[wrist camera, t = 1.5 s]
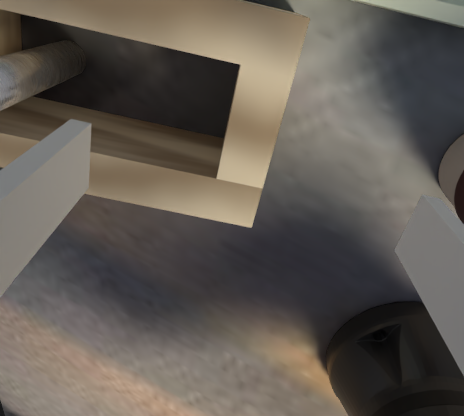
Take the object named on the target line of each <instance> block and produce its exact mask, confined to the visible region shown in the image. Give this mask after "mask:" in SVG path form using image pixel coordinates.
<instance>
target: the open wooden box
mask: <svg viewBox="0 0 464 416" xmlns="http://www.w3.org/2000/svg"><path fill="white" fill-rule="evenodd" d="M21 14H24V15H28V16H33V17H37V18H41V19H45V20H50V21H54V22H58V23H63V24H67V25H71V26H76V27H80V28H84V29H89V30H93V31H97V32H102V33H106V34H110V35H114V36H119V37H123V38H127V39H132V40H136V41H140V42H145V43H149V44H153V45H158V46H162V47H166V48H170V49H175V50H179V51H183V52H188V53H192V54H196V55H201V56H205V57H209V58H214V59H218V60H222V61H227V62H231V63H235V64H239V69H238V74H237V79H236V83H235V88H234V93H233V97H232V102H231V107H230V112H229V116H228V121H227V126H226V130H225V135H224V138H220V137H215V136H210V135H206V134H201V133H197V132H192V131H188V130H183V129H179V128H174V127H169V126H165V125H160V124H156V123H151V122H147V121H142V120H137V119H133V118H128V117H124V116H119V115H115V114H110V113H106V112H101V111H96V110H92V109H87V108H83V107H78V106H74V105H69V104H64V103H60V102H55V101H51V100H46V99H42V98H37V97H32V96H31V97H29V98H27V99H25V100H23V101H21V102H18V103H16V104H14V105H12V106H10V107H8V108H5V109H3V110H1V111H0V167H2V168H4V167H6V166H7V165H8V164H10V163H11V162H13V161H14V160H15V159H17V158H18V157H19V156H21V155H22V154H24V153H25V152H26V151H28V150H29V149H30V148H32V147H33V146H34V145H36V144H37V143H39V142H40V141H41V140H43V139H44V138H45V137H47V136H48V135H50V134H51V133H52V132H54V131H55V130H56V129H58V128H59V127H61V126H62V125H63V124H65V123H66V122H67V121H69V120H70V119H74V120H78V121H83V122H88V123H91V146H90V170H89V188H88V189H87V191H86V192H85V193H84V194H89V195H94V196H98V197H103V198H108V199H113V200H118V201H123V202H128V203H133V204H137V205H142V206H147V207H152V208H157V209H162V210H167V211H171V212H176V213H181V214H186V215H191V216H196V217H201V218H206V219H210V220H215V221H220V222H225V223H230V224H235V225H240V226H245V227H249V228H252V225H253V222H254V218H255V214H256V211H257V207H258V204H259V200H260V196H261V193H262V189H263V186H264V182H265V179H266V175H267V171H268V168H269V164H270V161H271V157H272V153H273V150H274V146H275V143H276V139H277V135H278V132H279V128H280V125H281V121H282V118H283V114H284V110H285V107H286V103H287V100H288V96H289V92H290V89H291V85H292V82H293V78H294V74H295V71H296V67H297V64H298V60H299V57H300V53H301V49H302V46H303V42H304V39H305V35H306V31H307V28H308V24H309V21H310V18H308V17H305V16H303V15H300V14H298V13H295V12H291V11H287V10H283V9H279V8H275V7H271V6H266V5H262V4H258V3H254V2H250V1H246V0H0V56H2V55H7V54H11V53H15V52H19V51H22V39H21Z"/></svg>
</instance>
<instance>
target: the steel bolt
mask: <svg viewBox="0 0 464 416" xmlns="http://www.w3.org/2000/svg"><path fill="white" fill-rule="evenodd" d="M85 65H86V57H85V54H84V52H83V50H82V49H81V48H80V47H79V46H78V45H77V44H76V43H74V42H72V41H68V40H64V41H59V42H55V43H51V44H47V45H43V46H39V47H35V48H31V49H27V50H23V51H19V52H15V53H11V54H7V55H2V56H0V111H1V110H3V109H5V108H8V107H10V106H12V105H14V104H16V103H18V102H21V101H23V100H25V99H27V98H29V97H31V96H33V95H36V94H38V93H40V92H42V91H44V90H46V89H48V88H51V87H53V86H55V85H57V84H59V83H61V82H63V81H66V80H68V79H70V78H72V77H74V76H76V75H78V74H80V73H81V72H82V71H83V70H84V68H85Z"/></svg>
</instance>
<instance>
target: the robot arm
mask: <svg viewBox="0 0 464 416" xmlns="http://www.w3.org/2000/svg"><path fill="white" fill-rule="evenodd" d="M90 146H91V123H88V122H83V121H78V120H74V119H70V120H69V121H67V122H66V123H65V124H63V125H62V126H61V127H59V128H58V129H56V130H55V131H54V132H52V133H51V134H50V135H48V136H47V137H45V138H44V139H43V140H41V141H40V142H39V143H37V144H36V145H34V146H33V147H32V148H30V149H29V150H28V151H26V152H25V153H24V154H22V155H21V156H19V157H18V158H17V159H15V160H14V161H13V162H11V163H10V164H8V165H7V166H6V167H4V168H2V167H0V297H1V296H2V295H3V293H4V292H5V291H6V290H7V288H8V287H9V286H10V285H11V283H12V282H13V281H14V280H15V279H16V277H17V276H18V275H19V274H20V272H21V271H22V270H23V269H24V267H25V266H26V265H27V264H28V262H29V261H30V260H31V259H32V257H33V256H34V255H35V254H36V253H37V251H38V250H39V249H40V248H41V246H42V245H43V244H44V243H45V241H46V240H47V239H48V238H49V236H50V235H51V234H52V233H53V231H54V230H55V229H56V228H57V227H58V225H59V224H60V223H61V222H62V220H63V219H64V218H65V217H66V215H67V214H68V213H69V212H70V210H71V209H72V208H73V207H74V205H75V204H76V203H77V202H78V201H79V199H80V198H81V197H82V196H83V194H84V193H85V192H86V191H87V189H88V188H89V170H90ZM394 251H395V253H396V254H397V256H398V258H399V260H400V262H401V264H402V265H403V267H404V269H405V271H406V273H407V274H408V276H409V278H410V280H411V282H412V283H413V285H414V287H415V289H416V291H417V292H418V294H419V296H420V298H421V300H422V302H423V303H419V302H400V303H393V304H387V305H383V306H379V307H376V308H373V309H370V310H368V311H366V312H364V313H362V314H360V315H358V316H356V317H355V318H353V319H351V320H350V321H349V322H347V323H346V324H345V325H344V326H343V327H342V328H341V329H340V330H339V331H338V332H337V333H336V334H335V336H334V337H333V339H332V340H331V342H330V344H329V347H328V350H327V354H326V365H327V370H328V375H329V379H330V383H331V386H332V389H333V391H334V393H335V394H336V396H337V397H338V398H339V400H340V401H341V403H342V405H343V407H344V408H345V410H346V412H347V414H348V415H349V416H464V224H463V223H462V222H461V221H460V220H459V219H458V217H457V216H456V215H455V214H454V213H453V212H452V211H451V210H450V209H449V208H448V206H447V205H446V204H445V203H444V202H443V201H442V200H441V199H440V198H435V197H431V196H426V195H422V196H421V198H420V200H419V202H418V204H417V206H416V208H415V210H414V212H413V214H412V216H411V218H410V220H409V222H408V224H407V226H406V228H405V230H404V232H403V234H402V236H401V238H400V240H399V242H398V244H397V246H396V248H395V250H394ZM0 416H5V415H4V411H3V408H2V404H1V401H0Z"/></svg>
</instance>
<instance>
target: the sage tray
mask: <svg viewBox="0 0 464 416" xmlns="http://www.w3.org/2000/svg"><path fill="white" fill-rule="evenodd" d="M351 1H355V2H359V3H363V4H367V5H371V6H375V7H379V8H383V9H387V10H391V11H395V12H399V13H403V14H407V15H411V16H415V17H419V18H423V19H427V20H431V21H436V22H440V23H444V24H448V25H452V26H456V27H460V28H464V0H351Z"/></svg>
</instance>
